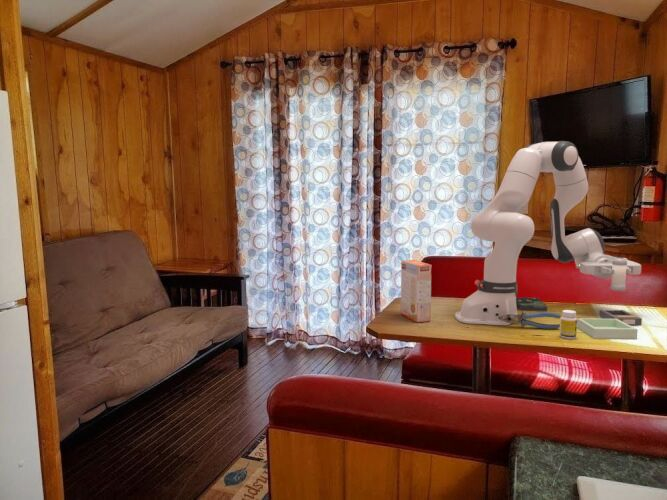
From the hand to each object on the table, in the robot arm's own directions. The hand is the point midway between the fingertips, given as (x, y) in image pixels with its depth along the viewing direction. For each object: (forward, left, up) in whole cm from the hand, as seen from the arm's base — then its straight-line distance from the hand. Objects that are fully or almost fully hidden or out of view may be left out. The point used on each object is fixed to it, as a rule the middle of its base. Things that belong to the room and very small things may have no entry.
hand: (620, 271), depth 176 cm
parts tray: (-11, -15, -18) cm, 26 cm away
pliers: (-34, -10, -18) cm, 40 cm away
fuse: (0, +1, -7) cm, 7 cm away
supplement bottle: (-25, -20, -18) cm, 37 cm away
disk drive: (-24, +22, -19) cm, 37 cm away
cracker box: (-71, +3, -18) cm, 73 cm away
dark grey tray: (+1, 0, -18) cm, 18 cm away
